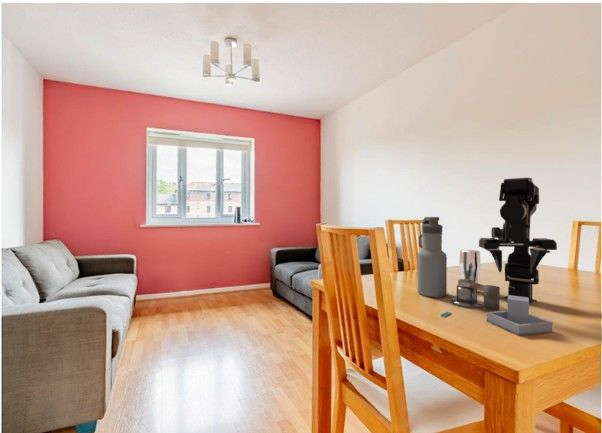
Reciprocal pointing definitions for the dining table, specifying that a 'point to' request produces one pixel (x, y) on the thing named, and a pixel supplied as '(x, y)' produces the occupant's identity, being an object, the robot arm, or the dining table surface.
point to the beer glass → (470, 264)
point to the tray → (533, 327)
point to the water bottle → (432, 260)
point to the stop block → (518, 309)
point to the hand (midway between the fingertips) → (515, 272)
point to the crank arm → (485, 293)
